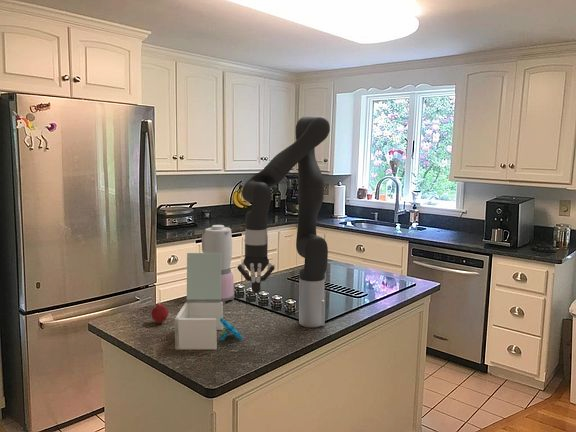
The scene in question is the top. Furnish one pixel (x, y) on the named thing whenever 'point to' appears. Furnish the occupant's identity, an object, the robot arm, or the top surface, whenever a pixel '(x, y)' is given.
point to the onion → (159, 313)
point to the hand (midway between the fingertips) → (256, 292)
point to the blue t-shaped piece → (229, 330)
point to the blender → (221, 242)
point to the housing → (198, 325)
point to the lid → (203, 277)
